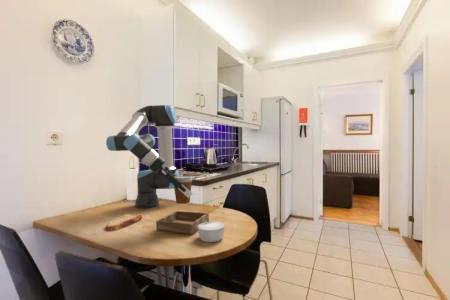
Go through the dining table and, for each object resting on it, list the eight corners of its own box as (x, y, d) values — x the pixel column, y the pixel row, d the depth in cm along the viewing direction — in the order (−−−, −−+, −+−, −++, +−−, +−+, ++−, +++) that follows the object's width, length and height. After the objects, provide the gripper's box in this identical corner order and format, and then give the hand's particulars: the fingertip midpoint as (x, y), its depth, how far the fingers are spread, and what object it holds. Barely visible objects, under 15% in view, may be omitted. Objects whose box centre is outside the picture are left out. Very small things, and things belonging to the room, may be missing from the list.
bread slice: (106, 233, 108) (106, 224, 108) (104, 222, 124) (103, 215, 124) (147, 225, 117) (147, 218, 117) (140, 216, 133) (140, 210, 133)
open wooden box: (176, 219, 125) (176, 210, 125) (208, 222, 119) (208, 213, 119) (156, 231, 108) (156, 221, 108) (192, 234, 102) (192, 224, 102)
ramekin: (210, 231, 106) (210, 219, 106) (230, 236, 99) (230, 224, 99) (192, 239, 98) (191, 226, 98) (212, 246, 91) (212, 232, 90)
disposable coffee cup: (169, 204, 110) (168, 178, 110) (178, 199, 119) (177, 175, 119) (188, 205, 108) (188, 178, 107) (196, 200, 117) (195, 175, 117)
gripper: (150, 165, 121) (183, 195, 124) (145, 169, 100) (185, 205, 103) (161, 154, 122) (193, 184, 125) (158, 156, 101) (197, 191, 104)
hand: (189, 193), depth 114 cm, fingers closed on disposable coffee cup, 9 cm apart
